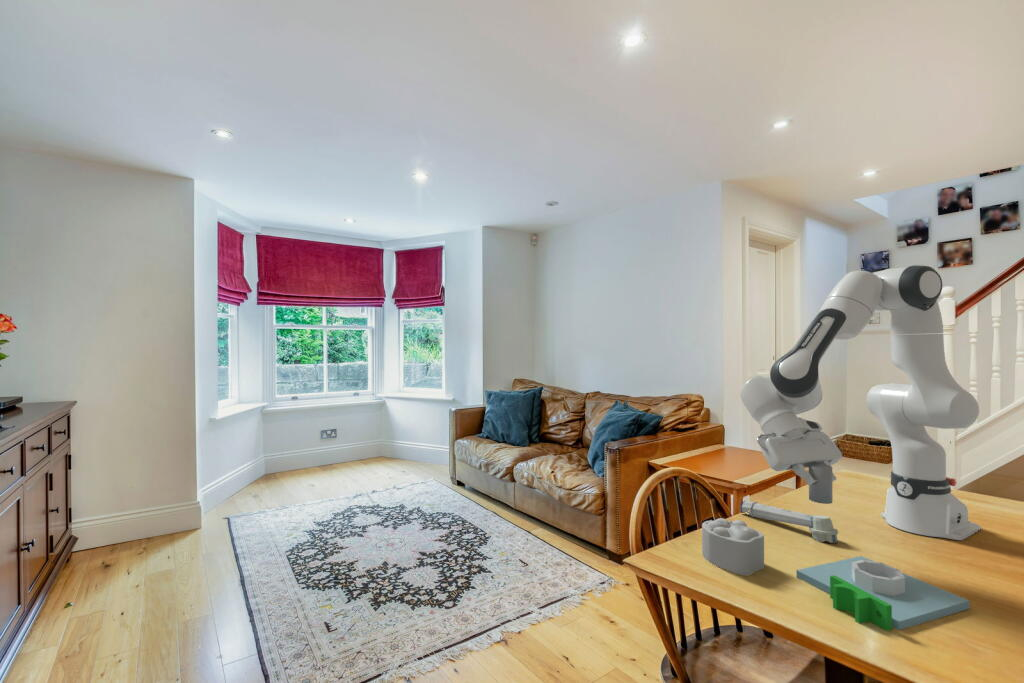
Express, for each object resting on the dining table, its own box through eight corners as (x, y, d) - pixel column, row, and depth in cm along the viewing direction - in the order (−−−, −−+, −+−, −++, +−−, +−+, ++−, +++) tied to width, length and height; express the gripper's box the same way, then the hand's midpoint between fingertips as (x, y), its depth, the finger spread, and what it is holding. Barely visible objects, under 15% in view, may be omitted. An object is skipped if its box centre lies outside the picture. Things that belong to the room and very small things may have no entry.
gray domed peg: (818, 496, 112) (818, 462, 112) (837, 502, 108) (837, 467, 108) (804, 498, 111) (803, 464, 111) (822, 504, 106) (822, 469, 106)
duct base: (861, 562, 108) (860, 542, 108) (969, 608, 89) (969, 584, 89) (796, 577, 101) (796, 556, 101) (899, 630, 83) (898, 604, 83)
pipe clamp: (819, 600, 93) (819, 577, 93) (834, 598, 93) (834, 575, 94) (875, 634, 82) (875, 607, 82) (892, 631, 83) (891, 604, 83)
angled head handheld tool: (748, 498, 141) (839, 512, 120) (751, 521, 141) (843, 540, 119) (737, 501, 139) (828, 516, 117) (740, 525, 138) (832, 544, 116)
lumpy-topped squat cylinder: (744, 578, 101) (743, 538, 101) (691, 555, 112) (691, 519, 112) (769, 565, 107) (769, 527, 107) (717, 545, 118) (717, 510, 118)
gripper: (761, 427, 112) (798, 479, 103) (823, 422, 119) (863, 471, 110) (746, 442, 117) (780, 493, 107) (807, 436, 123) (844, 484, 114)
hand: (823, 482), depth 109 cm, fingers closed on gray domed peg, 5 cm apart
